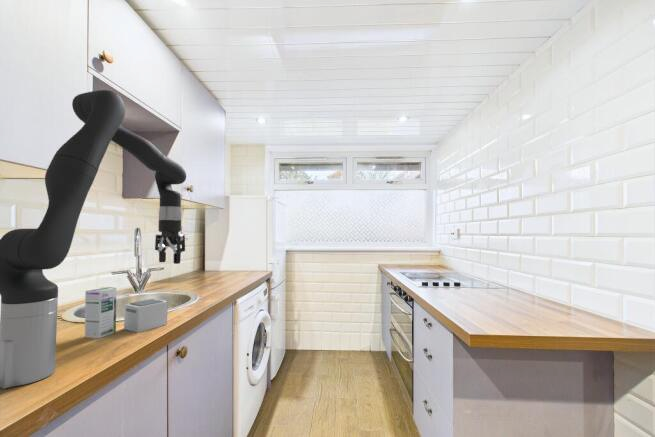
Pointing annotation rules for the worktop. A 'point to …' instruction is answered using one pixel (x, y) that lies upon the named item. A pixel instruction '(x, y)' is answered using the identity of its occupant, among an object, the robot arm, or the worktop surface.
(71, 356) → the worktop surface
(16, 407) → the worktop surface
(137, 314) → the grey storage bin
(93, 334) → the syrup box
